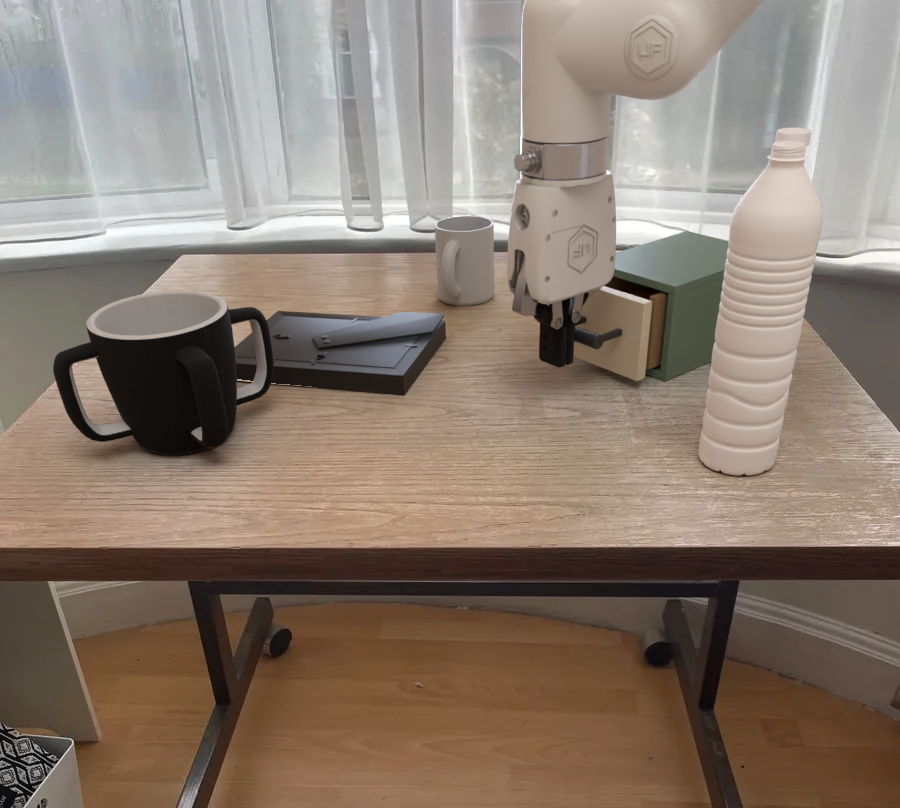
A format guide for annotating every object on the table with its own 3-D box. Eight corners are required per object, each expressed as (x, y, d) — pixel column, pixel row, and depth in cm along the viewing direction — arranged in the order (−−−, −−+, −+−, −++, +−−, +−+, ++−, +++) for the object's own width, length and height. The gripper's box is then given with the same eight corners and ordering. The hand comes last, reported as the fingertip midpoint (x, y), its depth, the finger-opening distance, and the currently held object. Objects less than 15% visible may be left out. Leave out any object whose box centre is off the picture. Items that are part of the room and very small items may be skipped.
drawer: (607, 393, 88) (613, 314, 83) (534, 363, 94) (536, 289, 90) (728, 343, 97) (740, 269, 92) (654, 319, 103) (661, 249, 99)
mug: (300, 408, 90) (281, 287, 83) (220, 487, 78) (191, 353, 71) (158, 393, 94) (129, 277, 87) (62, 465, 82) (19, 338, 75)
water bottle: (771, 482, 75) (837, 152, 60) (692, 471, 77) (736, 149, 62) (780, 436, 81) (841, 128, 66) (706, 427, 83) (750, 126, 68)
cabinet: (665, 381, 92) (675, 286, 86) (583, 350, 99) (588, 261, 93) (759, 341, 99) (774, 251, 93) (676, 315, 106) (686, 230, 101)
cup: (502, 290, 116) (501, 217, 111) (474, 316, 109) (473, 240, 103) (450, 285, 118) (447, 214, 113) (420, 311, 111) (415, 236, 106)
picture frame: (446, 338, 103) (280, 327, 108) (444, 314, 102) (276, 304, 107) (404, 395, 91) (220, 380, 96) (402, 368, 90) (215, 355, 95)
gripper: (529, 181, 72) (526, 395, 83) (654, 151, 79) (635, 352, 90) (469, 167, 76) (473, 372, 88) (592, 140, 84) (581, 332, 95)
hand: (555, 361), depth 89 cm, fingers closed
